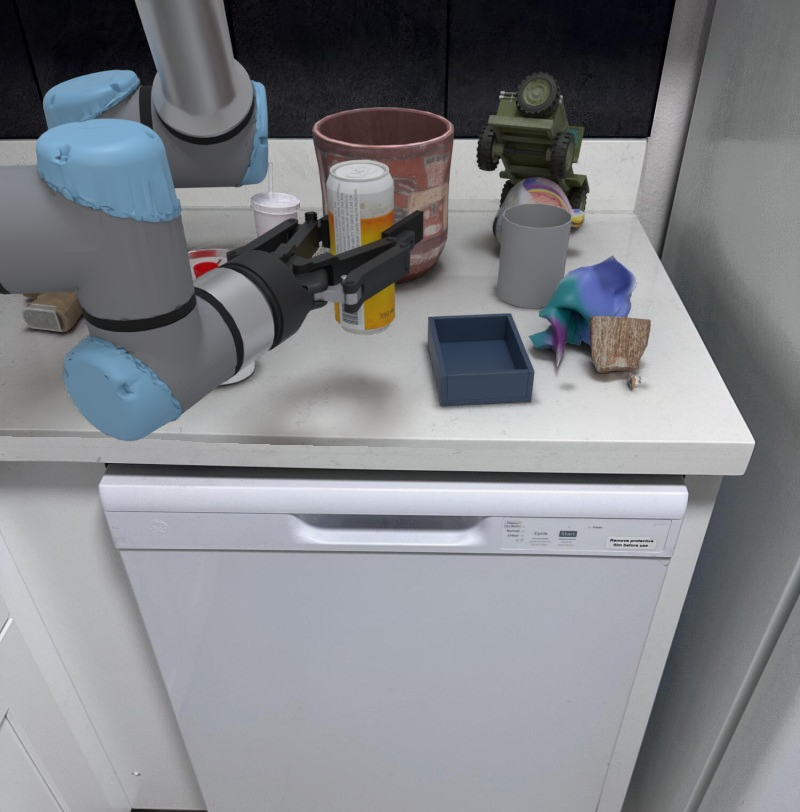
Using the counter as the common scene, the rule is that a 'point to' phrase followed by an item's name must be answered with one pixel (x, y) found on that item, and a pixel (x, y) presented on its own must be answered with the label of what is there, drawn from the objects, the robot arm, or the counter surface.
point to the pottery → (396, 165)
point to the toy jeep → (534, 139)
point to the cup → (532, 253)
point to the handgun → (52, 311)
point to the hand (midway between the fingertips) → (389, 218)
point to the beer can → (361, 232)
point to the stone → (618, 342)
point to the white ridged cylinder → (202, 264)
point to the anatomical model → (536, 200)
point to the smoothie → (273, 207)
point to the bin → (479, 360)
